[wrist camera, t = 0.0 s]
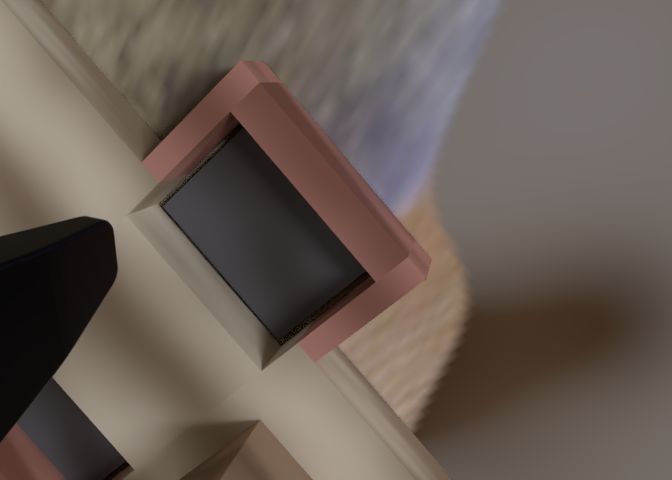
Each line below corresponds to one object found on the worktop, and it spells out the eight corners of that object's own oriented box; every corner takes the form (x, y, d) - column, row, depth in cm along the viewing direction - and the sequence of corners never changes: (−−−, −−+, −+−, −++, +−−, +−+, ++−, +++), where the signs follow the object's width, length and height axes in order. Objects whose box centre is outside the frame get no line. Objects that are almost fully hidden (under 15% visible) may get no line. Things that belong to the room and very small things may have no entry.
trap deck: (236, 698, 32) (177, 843, 26) (-205, 206, 31) (-374, 237, 25) (625, 488, 25) (672, 622, 19) (65, -173, 24) (-83, -262, 17)
